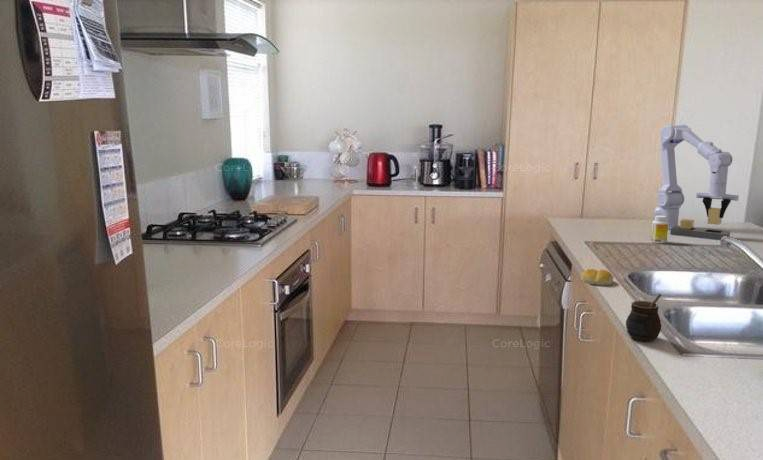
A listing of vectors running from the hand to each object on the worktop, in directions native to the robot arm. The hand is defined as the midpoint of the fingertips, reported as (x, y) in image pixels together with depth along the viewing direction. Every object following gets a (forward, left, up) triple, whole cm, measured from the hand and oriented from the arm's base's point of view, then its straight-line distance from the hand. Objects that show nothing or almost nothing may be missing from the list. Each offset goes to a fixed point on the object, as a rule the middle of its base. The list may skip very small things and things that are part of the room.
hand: (715, 217), depth 236 cm
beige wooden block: (-10, 0, -8) cm, 13 cm away
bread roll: (-11, -90, -9) cm, 91 cm away
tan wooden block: (0, 0, -2) cm, 3 cm away
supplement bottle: (-14, -22, -8) cm, 27 cm away
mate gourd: (+15, -128, -8) cm, 130 cm away
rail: (-5, 0, -8) cm, 10 cm away
